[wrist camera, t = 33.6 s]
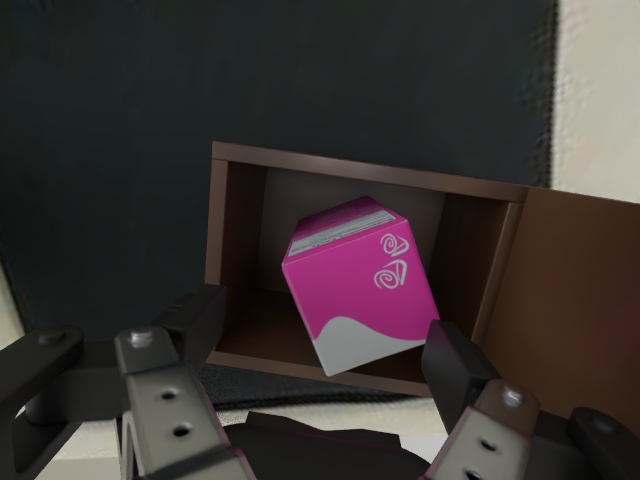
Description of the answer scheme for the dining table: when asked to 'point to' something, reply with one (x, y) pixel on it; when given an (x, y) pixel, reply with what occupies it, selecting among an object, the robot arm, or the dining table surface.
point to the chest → (328, 192)
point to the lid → (572, 306)
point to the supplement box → (358, 284)
